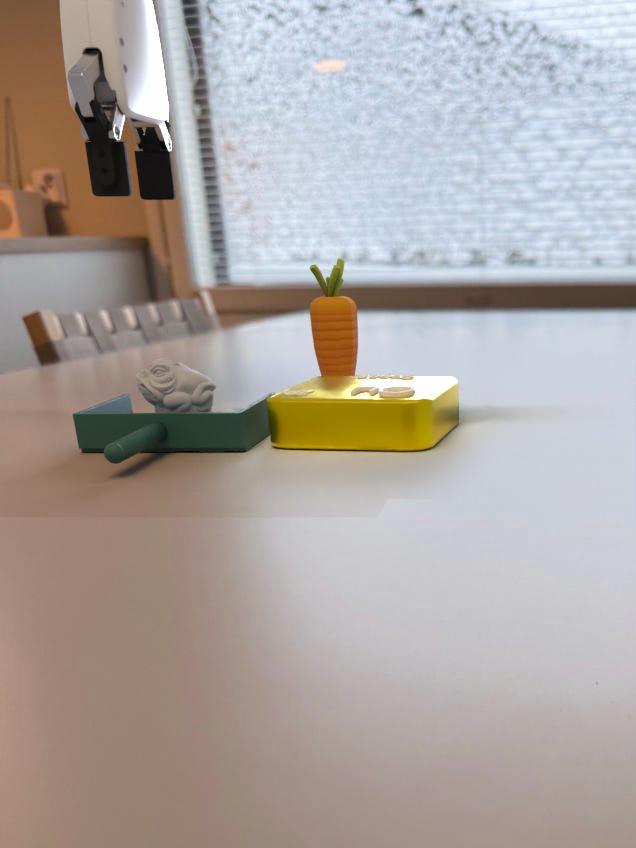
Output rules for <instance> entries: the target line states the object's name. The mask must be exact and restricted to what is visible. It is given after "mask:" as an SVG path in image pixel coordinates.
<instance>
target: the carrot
mask: <svg viewBox="0 0 636 848" xmlns="http://www.w3.org/2000/svg"><path fill="white" fill-rule="evenodd" d="M309 270H310V272H311V273H312V275H313V276H314V277H315V279H316V281H317V283H318V285H319V287H320V288H321V290H322V292H323V294H324V295H322V296H318V297H315V298H314V299H313V300H312V301H311V303H310V305H309V317H310V326H311V327H310V328H311V337H312V342H313V349H314V354H315V357H316V362H317V365H318V369H319V372H320V376H356V371H357V369H356V368H357V361H358V353H359V352H358V351H359V327H358V326H359V323H358V308H357V304H356V302H355V301H354V299H352V298H351V297H349V296H345V295H339V291H340V289H341V287H342V285H343V283H344V279H343V274H344V270H345V260H344V259H342V258H337V261H336V264H334V265H333V267H332V269H331V272H330V275H329V276H326V278H324V276H323V273H322V272H321V269H320V268H319V266H318V265H317V264H311V265H310V266H309Z"/></svg>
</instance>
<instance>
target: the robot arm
mask: <svg viewBox="0 0 636 848" xmlns="http://www.w3.org/2000/svg"><path fill="white" fill-rule="evenodd" d="M59 14H60V15H59V17H60V18H59V19H60V20H59V21H60V31H61V32H60V33H61V43H62V52H63V53H62V54H63V62H64V70H65V80H66V87H67V93H68V102H69V105H70V107H71V109H72V110H73V111H74V113H75V114H76V115H77V117H78V120H80V123H81V124H80V135H81V138H82V140H83V141H84V145H85V153H86V161H87V165H88V173H89V179H90V186H91V193H92V194H93V195H94V196H95V197H105V198H106V197H112V198H113V197H117V198H118V197H131V196H132V195H133V186H132V179H131V170H130V163H129V155H128V148H127V147H128V146H127V142H126V141H122V140H121V136H122V131H123V126H124V123H125V121H127V123H128V126H129V129H130V131H131V134H132V136H133V139H134V141H135V143H136V146H137V148H138V150H134V151H133V153H134V160H135V168H136V174H137V182H138V190H139V197H140V198H141V200H144V201H173V200H175V199H176V198H177V191H176V190H177V189H176V182H175V174H174V166H173V157H172V148H173V147H172V140H171V138H170V137H171V136H170V131H171V130H172V129H171V128H172V127H171V124H170V122H169V116H170V115H169V113H170V104H169V100H168V92H167V83H166V76H165V75H166V73H165V68H164V60H163V54H162V47H161V41H160V36H159V29H158V23H157V18H156V13H155V9H154V3H153V0H59ZM143 128H145V131H144V129H143Z"/></svg>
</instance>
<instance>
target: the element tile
mask: <svg viewBox="0 0 636 848" xmlns="http://www.w3.org/2000/svg"><path fill="white" fill-rule="evenodd" d="M459 397H460V395H459V381H458V379H456V378H455V377H453V376H414V375H399V374H398V375H397V374H396V375H395V374H394V375H392V374H389V375H387V374H384V375H381V374H371V375H368V374H361V375H360V374H359V375H358V374H355V376H321V375H319V376H315V377H312V378H310V379H308V380H305V381H303V382H300V383H298V384H295V385H293V386H291V387H289V388H288V387H287V388H286V389H283V390H281V391H279V392H277V393H275V394H274V395H272V396H270V397H268V398H267V409H268V419H269V428H270V434H269V437H270V443H271V446H273V447H275V448H278V449H290V450H292V449H293V450H294V449H297V450H342V451H344V450H345V451H386V452H387V451H388V452H389V451H392V452H414V451H424V450H428V449H431V448H434V447H435V445H437V444H438V443H439V442H440V441H441V440H442V439H443V438H444V437H445V436H446V435H448V433H449V432H451V431H452V429H454V428H455V427H456V426H457V425H458V424H459V422H460V399H459Z"/></svg>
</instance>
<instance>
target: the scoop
mask: <svg viewBox="0 0 636 848" xmlns="http://www.w3.org/2000/svg"><path fill="white" fill-rule="evenodd" d="M274 394H276V392H270V393H268V394H266V395H264V396H263V397H261V398H259V399H258V400H256V401H254V402H252V403H251V404H249V405H247V406H246V407H244V408H242V409H241V410H238V411H237V412H236V411H234V412H233V411H230V412H227V411H226V412H217V411H216V412H211V413H155V412H133V411H134V410H133V406H132V397H131V394H130V393H124V394H122V395H119V396H116V397H113V398H111V399H109V400H106V401H103V402H101V403H98V404H96V405H93V406H90V407H87V408H85V409H82V410H80V411H77V412H75V413H72V419H73V424H74V430H75V434H76V440H77V446H78V449H80V450H81V453H103V455H104V459H106V461H108V462H109V463H111V464H115V465H116V464H120V463H122V462H124V461H126V460H128V459H130V458H132V457H133V456H135V455H137V454H140V453H181V452H180V451H195V452H194V453H211V452H212V453H213V452H215V453H222V452H223V453H227V452H226V451H246V452H247V451H248V450H250V449H252V448H253V447H254V446H256V445H257V444H258V443H260V442H261V441H262V440H264V439H265V438H267V437H268V436H270V428H269V419H268V409H267V398H268V397H270V396H272V395H274ZM259 441H260V442H259ZM175 451H176V452H175ZM178 451H179V452H178ZM196 451H198V452H196ZM207 451H208V452H207ZM224 451H225V452H224Z"/></svg>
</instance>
